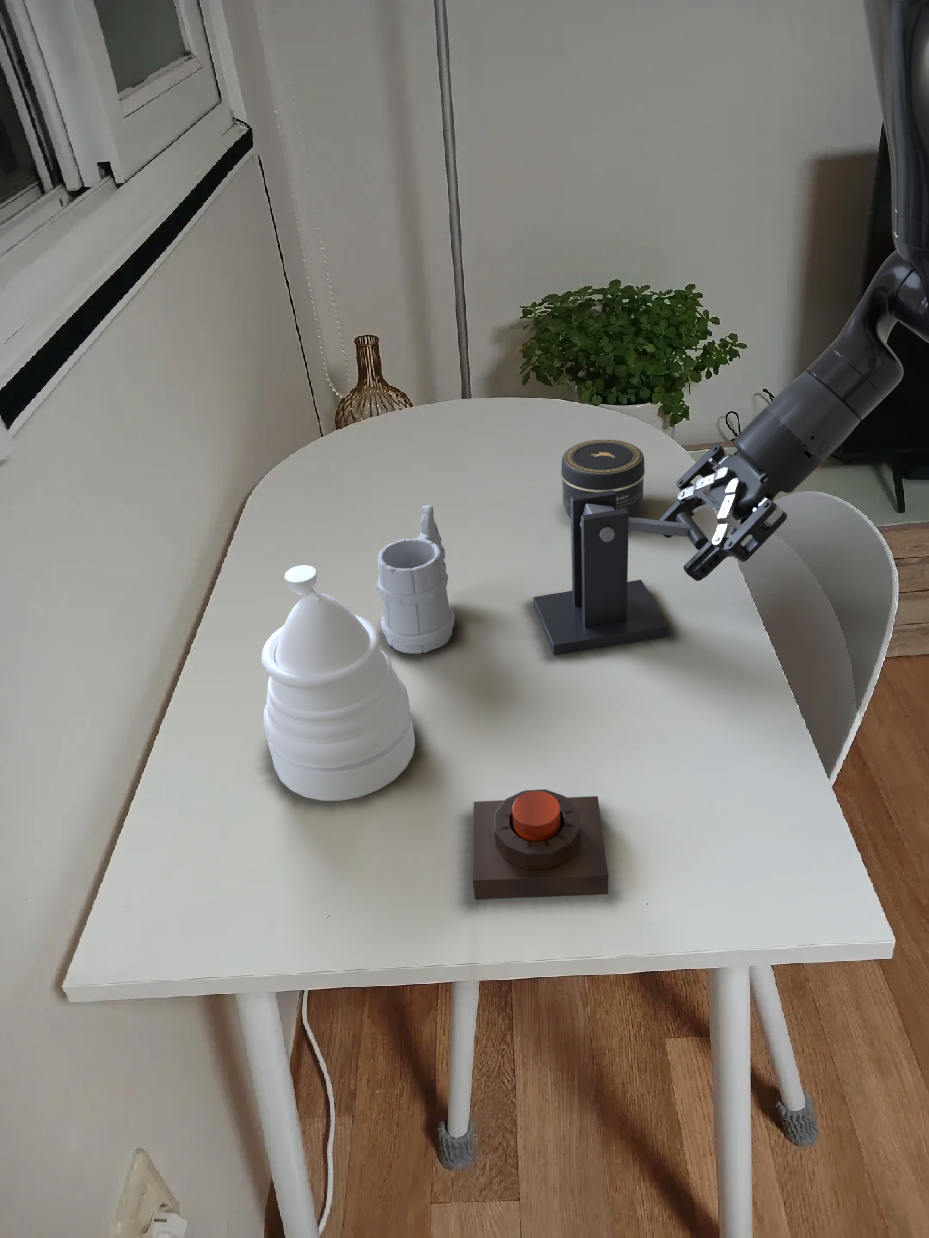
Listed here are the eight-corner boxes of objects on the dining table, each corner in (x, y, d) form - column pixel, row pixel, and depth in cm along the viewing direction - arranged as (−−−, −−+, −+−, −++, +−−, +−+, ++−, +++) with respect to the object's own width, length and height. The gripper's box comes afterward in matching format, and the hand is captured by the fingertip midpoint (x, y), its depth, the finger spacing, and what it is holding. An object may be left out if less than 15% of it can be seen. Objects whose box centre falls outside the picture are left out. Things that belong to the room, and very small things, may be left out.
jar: (556, 497, 122) (554, 443, 118) (632, 488, 123) (634, 433, 118) (570, 536, 114) (569, 479, 110) (652, 526, 114) (654, 469, 110)
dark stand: (640, 589, 104) (644, 475, 96) (668, 636, 96) (675, 517, 89) (533, 606, 103) (527, 492, 95) (553, 655, 95) (549, 536, 87)
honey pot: (252, 740, 89) (206, 578, 78) (373, 685, 94) (345, 526, 83) (311, 823, 79) (268, 652, 69) (441, 757, 85) (420, 589, 74)
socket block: (597, 814, 78) (597, 779, 75) (608, 894, 71) (608, 858, 69) (475, 820, 78) (471, 785, 76) (474, 899, 72) (470, 864, 69)
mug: (371, 651, 98) (354, 551, 92) (412, 589, 108) (399, 494, 101) (441, 660, 96) (429, 559, 89) (476, 596, 105) (468, 500, 98)
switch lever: (685, 528, 98) (692, 508, 97) (705, 555, 94) (713, 534, 92) (575, 517, 95) (581, 495, 94) (589, 544, 91) (596, 521, 89)
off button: (559, 805, 74) (558, 789, 73) (562, 840, 71) (561, 824, 70) (512, 807, 74) (511, 791, 73) (514, 842, 71) (512, 826, 70)
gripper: (742, 383, 95) (628, 502, 100) (807, 440, 83) (675, 571, 89) (786, 425, 98) (674, 538, 104) (855, 486, 87) (725, 609, 92)
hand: (675, 553), depth 96 cm, fingers open, 8 cm apart
